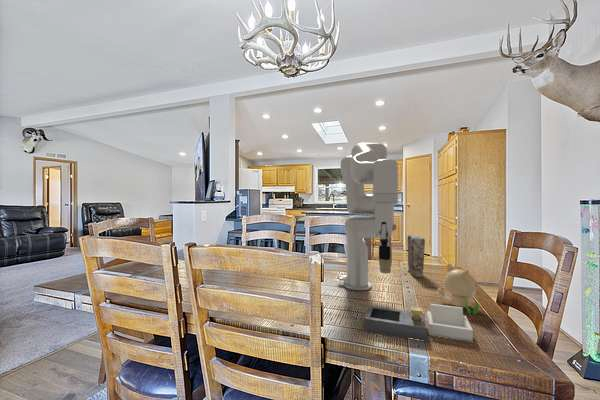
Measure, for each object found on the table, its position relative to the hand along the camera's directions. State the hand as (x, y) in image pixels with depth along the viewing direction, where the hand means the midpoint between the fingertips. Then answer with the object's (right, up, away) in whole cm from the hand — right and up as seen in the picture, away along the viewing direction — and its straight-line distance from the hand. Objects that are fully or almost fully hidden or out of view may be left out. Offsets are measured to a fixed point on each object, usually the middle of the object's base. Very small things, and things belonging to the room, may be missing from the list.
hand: (385, 257), depth 87 cm
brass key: (+8, -22, -3) cm, 24 cm away
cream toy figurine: (+33, -22, +16) cm, 43 cm away
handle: (0, -5, 0) cm, 5 cm away
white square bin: (+18, -22, -3) cm, 29 cm away
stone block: (+34, -21, +60) cm, 72 cm away
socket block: (+3, -22, -1) cm, 22 cm away
